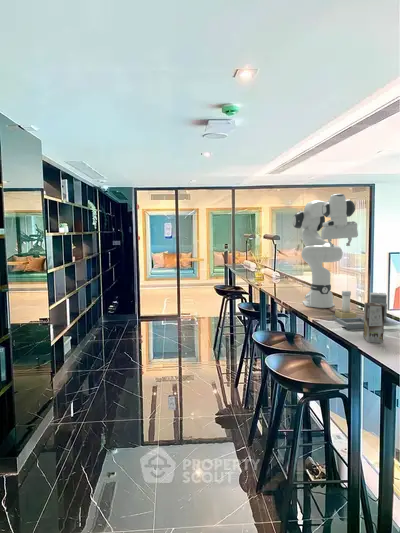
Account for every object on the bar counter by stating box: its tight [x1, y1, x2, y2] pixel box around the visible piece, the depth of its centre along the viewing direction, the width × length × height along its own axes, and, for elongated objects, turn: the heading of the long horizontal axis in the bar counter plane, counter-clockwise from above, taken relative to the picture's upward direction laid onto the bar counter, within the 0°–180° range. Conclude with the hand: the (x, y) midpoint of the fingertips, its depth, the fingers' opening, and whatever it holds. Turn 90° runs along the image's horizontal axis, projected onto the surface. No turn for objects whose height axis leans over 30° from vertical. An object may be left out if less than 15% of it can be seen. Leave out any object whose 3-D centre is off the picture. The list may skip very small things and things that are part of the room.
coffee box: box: [363, 302, 385, 344], centre depth 174 cm, size 9×6×16 cm
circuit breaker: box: [369, 292, 388, 322], centre depth 206 cm, size 8×14×15 cm, turn 158°
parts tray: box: [335, 317, 364, 331], centre depth 199 cm, size 12×14×3 cm
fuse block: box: [330, 309, 359, 319], centre depth 214 cm, size 12×12×4 cm
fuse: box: [341, 290, 352, 313], centre depth 213 cm, size 4×4×14 cm
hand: (340, 246), depth 226 cm, fingers open, 8 cm apart
